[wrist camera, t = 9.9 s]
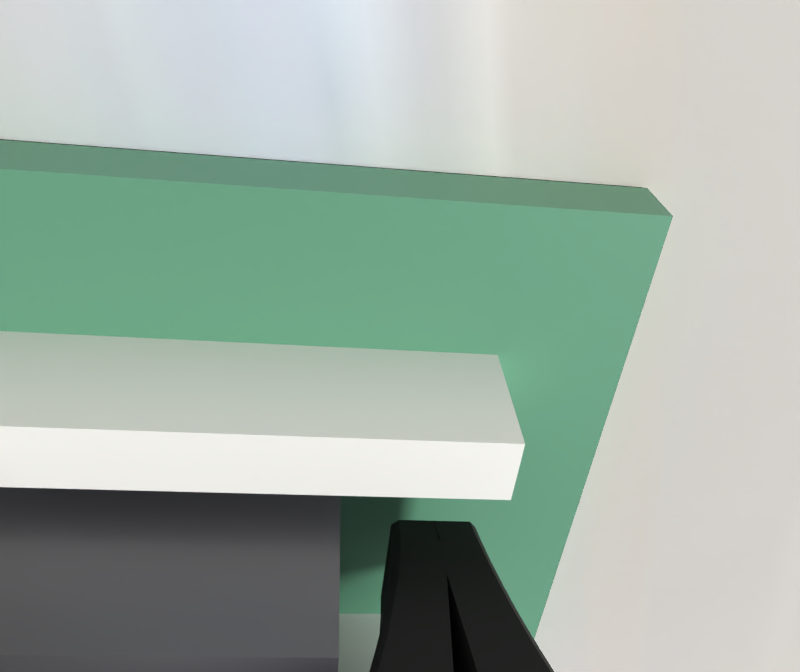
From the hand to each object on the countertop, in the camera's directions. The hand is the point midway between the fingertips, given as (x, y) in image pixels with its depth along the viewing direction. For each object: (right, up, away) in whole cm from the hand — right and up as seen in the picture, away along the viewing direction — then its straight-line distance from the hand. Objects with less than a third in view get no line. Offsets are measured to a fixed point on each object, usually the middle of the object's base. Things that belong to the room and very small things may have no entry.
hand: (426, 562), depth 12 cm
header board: (-4, +1, +1) cm, 5 cm away
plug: (-4, +1, 0) cm, 4 cm away
